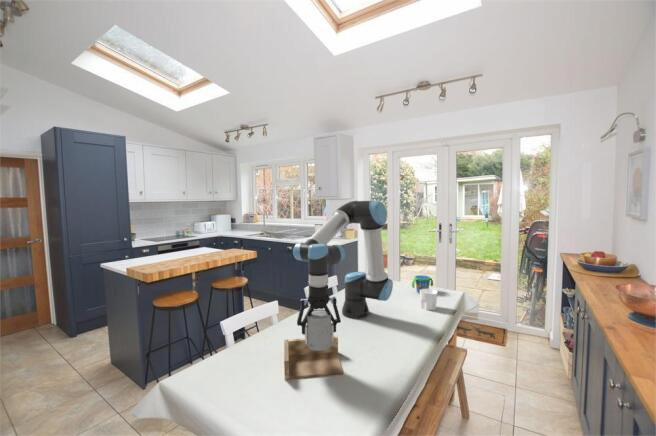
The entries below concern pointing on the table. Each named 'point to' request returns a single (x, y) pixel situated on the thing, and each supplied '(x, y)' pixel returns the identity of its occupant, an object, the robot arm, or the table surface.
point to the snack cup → (422, 282)
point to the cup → (428, 299)
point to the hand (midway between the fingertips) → (319, 341)
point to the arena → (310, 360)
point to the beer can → (319, 330)
